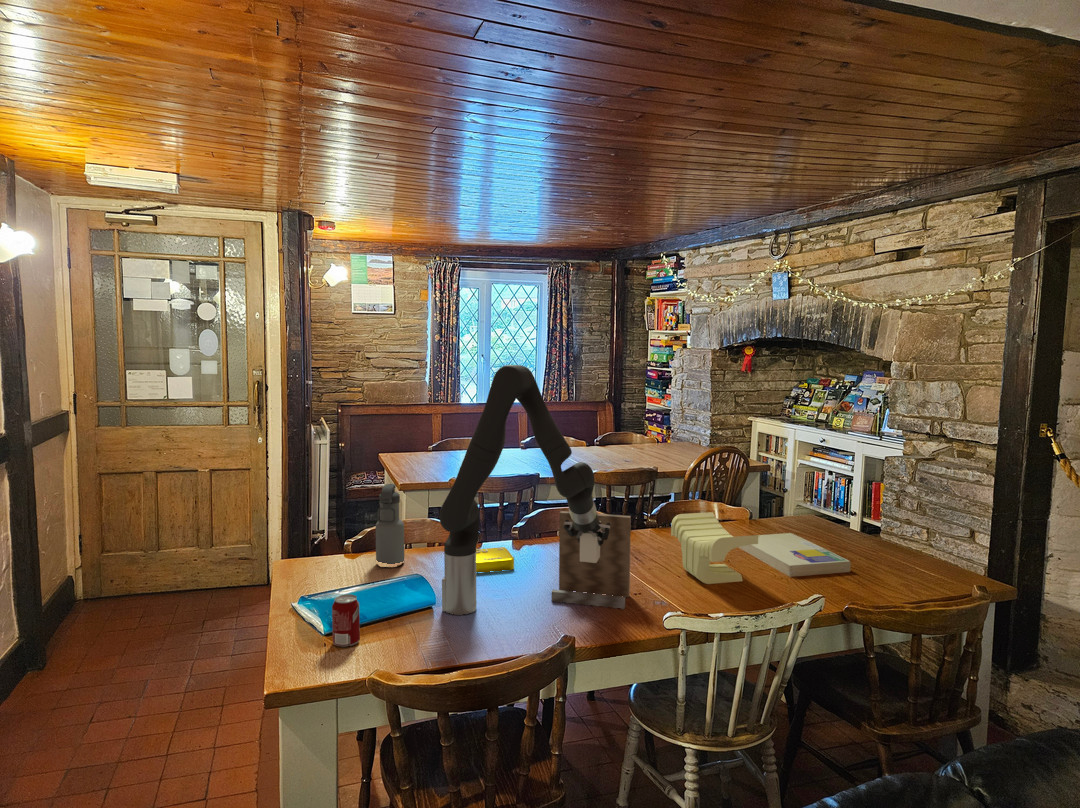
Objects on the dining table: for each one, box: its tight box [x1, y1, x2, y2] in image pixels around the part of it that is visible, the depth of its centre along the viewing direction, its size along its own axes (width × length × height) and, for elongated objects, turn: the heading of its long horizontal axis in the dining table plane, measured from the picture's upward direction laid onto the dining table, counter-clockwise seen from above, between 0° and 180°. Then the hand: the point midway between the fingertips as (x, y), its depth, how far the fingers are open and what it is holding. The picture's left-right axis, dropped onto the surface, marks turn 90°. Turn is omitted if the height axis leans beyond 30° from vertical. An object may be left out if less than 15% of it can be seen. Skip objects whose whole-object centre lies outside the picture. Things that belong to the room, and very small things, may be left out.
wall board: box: [551, 510, 632, 610], centre depth 207 cm, size 22×12×25 cm, turn 75°
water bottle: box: [375, 483, 405, 564], centre depth 238 cm, size 10×10×28 cm
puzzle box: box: [737, 532, 851, 578], centre depth 248 cm, size 36×5×24 cm
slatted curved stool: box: [670, 511, 759, 585], centre depth 228 cm, size 30×16×18 cm, turn 14°
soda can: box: [331, 593, 361, 648], centre depth 176 cm, size 7×7×12 cm
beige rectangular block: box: [580, 521, 601, 563], centre depth 203 cm, size 5×6×11 cm
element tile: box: [476, 546, 515, 572], centre depth 239 cm, size 15×15×5 cm
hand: (591, 542), depth 205 cm, fingers closed on beige rectangular block, 5 cm apart
